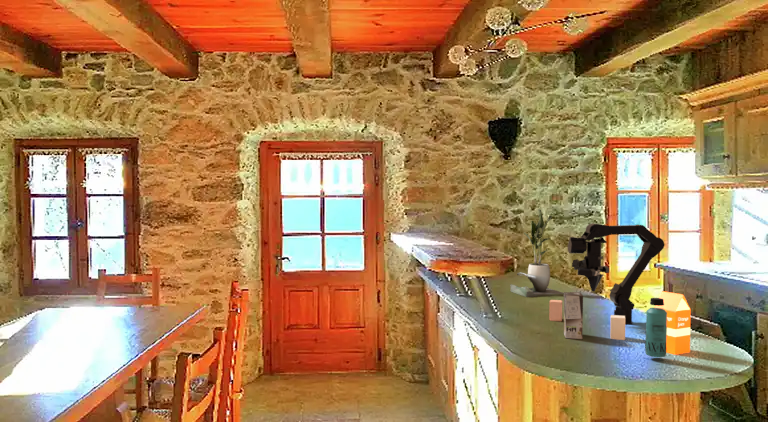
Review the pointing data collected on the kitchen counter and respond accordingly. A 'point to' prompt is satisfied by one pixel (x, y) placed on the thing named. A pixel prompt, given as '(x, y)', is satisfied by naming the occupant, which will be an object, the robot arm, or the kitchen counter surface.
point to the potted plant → (537, 266)
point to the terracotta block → (555, 310)
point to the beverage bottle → (656, 329)
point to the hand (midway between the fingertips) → (593, 291)
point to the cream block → (617, 327)
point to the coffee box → (573, 315)
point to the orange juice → (676, 322)
